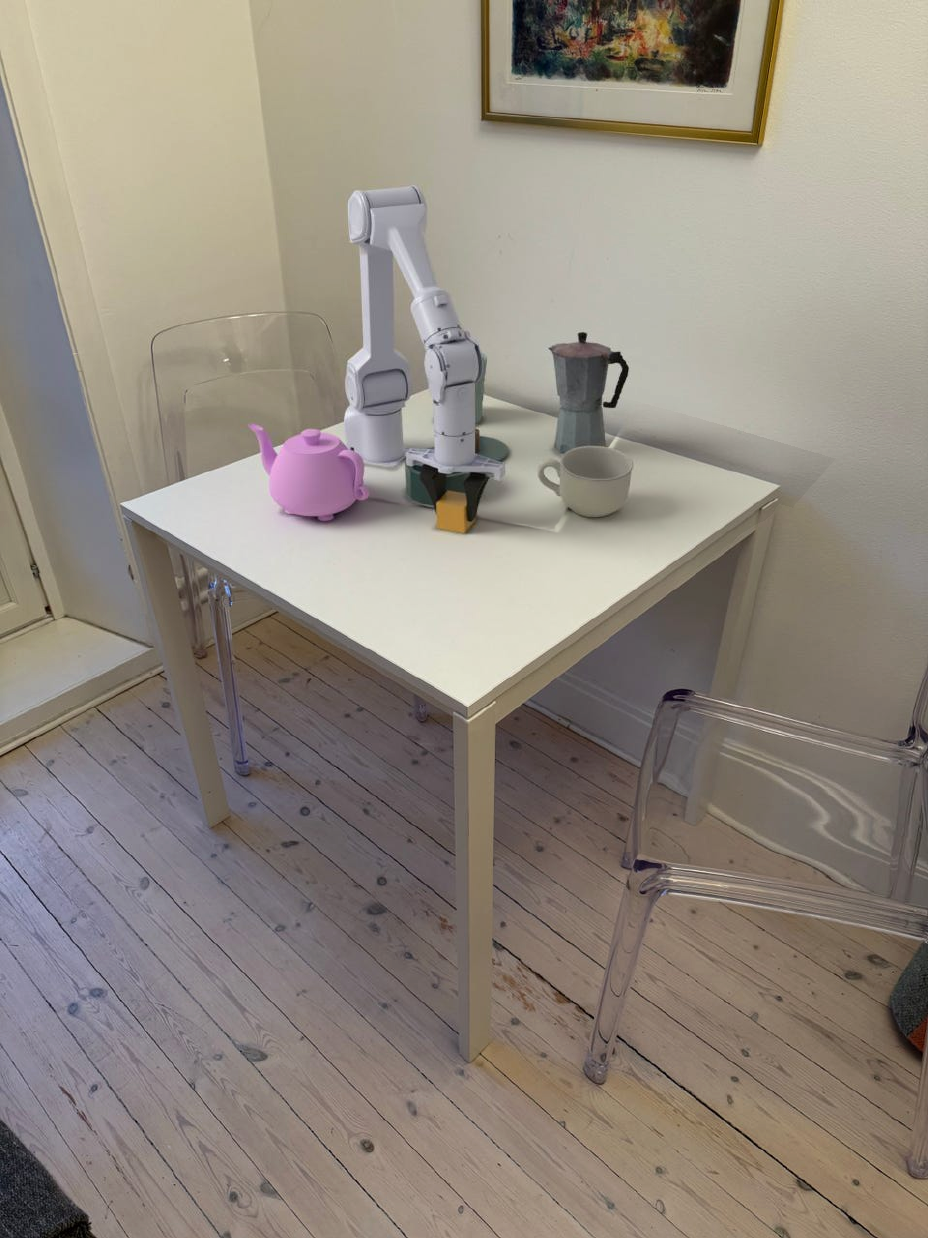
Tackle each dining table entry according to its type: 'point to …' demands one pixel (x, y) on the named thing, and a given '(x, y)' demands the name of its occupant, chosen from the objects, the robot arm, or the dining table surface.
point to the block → (453, 512)
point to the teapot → (312, 473)
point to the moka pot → (583, 391)
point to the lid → (490, 447)
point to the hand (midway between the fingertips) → (456, 515)
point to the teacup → (591, 479)
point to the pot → (420, 492)
